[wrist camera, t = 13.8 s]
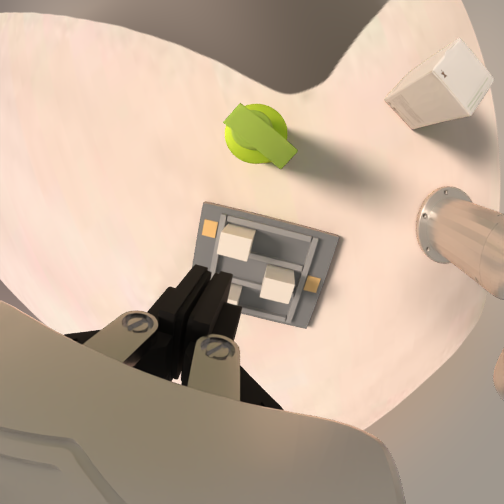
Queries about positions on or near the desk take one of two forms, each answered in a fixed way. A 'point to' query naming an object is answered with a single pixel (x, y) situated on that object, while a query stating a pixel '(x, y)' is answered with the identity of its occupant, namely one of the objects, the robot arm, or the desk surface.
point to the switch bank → (268, 260)
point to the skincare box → (441, 87)
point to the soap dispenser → (258, 135)
